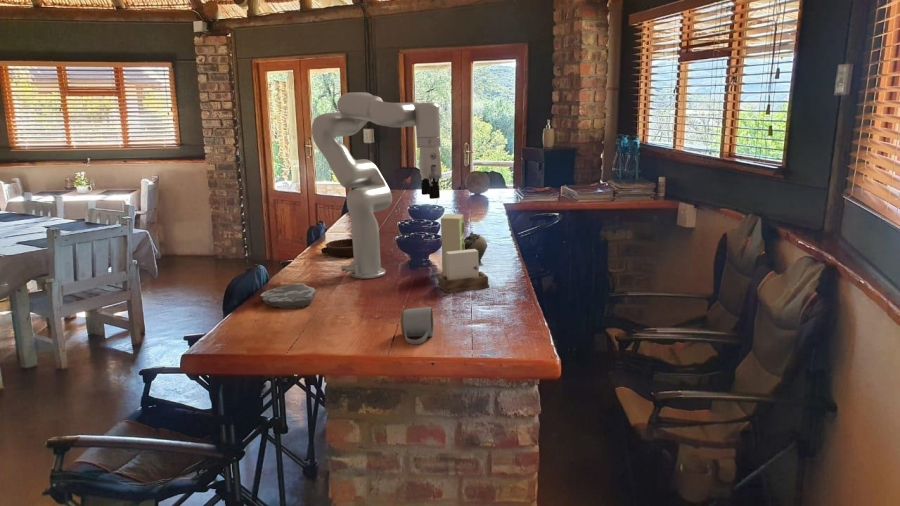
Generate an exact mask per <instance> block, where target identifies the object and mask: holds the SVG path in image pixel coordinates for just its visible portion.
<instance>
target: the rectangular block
mask: <svg viewBox="0 0 900 506" xmlns="http://www.w3.org/2000/svg"><path fill="white" fill-rule="evenodd" d="M479 267H480V266H479V260H478V251H477V250H476V249H469V250H459V251H449V252H446V268H447V280H456V279H464V278H473V277H479V272H480V269H479Z"/></svg>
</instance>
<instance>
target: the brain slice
mask: <svg viewBox="0 0 900 506" xmlns="http://www.w3.org/2000/svg"><path fill="white" fill-rule="evenodd" d="M316 293H317V291H316V289H315V287H312V286H308V285H307V284H305V283H295V284H286V285H279V286H277V287H274V288H271V289H267V290H266V291H264V292H262V293H261V294H259V296H260V297H261V299H262V301H263V302H264V304H266V305H268V306H270V305H271V306H270V307H272V306H274V307H273V308H276V307H279V308H280V309H294V308H293V307H296V308H304V307H303V306H305V307H307V306H306V305H308V306H310V305H311V304H312V302H313V300H314V298H315V297H316V295H317V294H316Z"/></svg>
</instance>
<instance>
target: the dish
mask: <svg viewBox="0 0 900 506" xmlns="http://www.w3.org/2000/svg"><path fill="white" fill-rule="evenodd" d="M320 253H321V254H323V255H330V256H332V257H334V256H335V258H342V257H346V258H354V255H353V240H352V238H344V239H337V240H332V241H329V242H327V243H326V244H325V246H324V247H322V248H321V252H320Z"/></svg>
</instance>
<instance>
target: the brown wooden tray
mask: <svg viewBox="0 0 900 506" xmlns="http://www.w3.org/2000/svg"><path fill="white" fill-rule="evenodd" d="M437 277H438V282H437V287H439V288H440V289H441V290H442V292H444V293H445V294H449V293H455V292H456V293H457V292H464V291H472V290H473V291H474V290H481V289H490V284H489V276H488V275H486V274H485V273H484V272H483V271H479V277H473V278H464V279H456V280H447V275H445V276H443V275H439V276H437Z"/></svg>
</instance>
